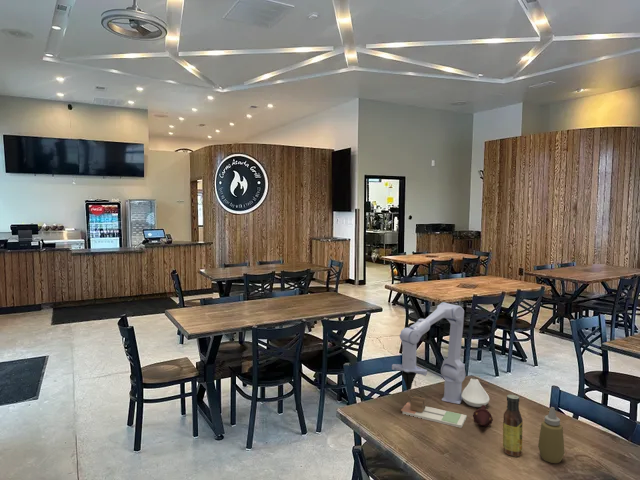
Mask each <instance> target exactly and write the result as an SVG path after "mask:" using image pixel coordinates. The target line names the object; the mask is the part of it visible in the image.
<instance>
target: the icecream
mask: <svg viewBox="0 0 640 480" xmlns="http://www.w3.org/2000/svg"><path fill="white" fill-rule="evenodd" d="M472 417H473V421H474V423H475V424H477V425H478V426H479V427H485V428H486V427H489V426H490V425H491V424H492V423H493V421H494V419H493V416H492V413H491V412H490V411H488V409H487V406H486V405H482V406H481V407H479V408H478V409H476V410H475V411H474V412H473V414H472Z"/></svg>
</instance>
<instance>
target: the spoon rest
mask: <svg viewBox="0 0 640 480" xmlns="http://www.w3.org/2000/svg"><path fill="white" fill-rule="evenodd" d="M461 397H462V401H463V402H464V403H466V405H468V406H470V407H473V408H481V406H482V405H485V406H486V405H488V403H490V396H489V394H488V393H487V391H486V389H485V388H484V387H483V386H482V385H481V382H480V381H479V379H477V378H476V379H475V378H470V380H469V382H468V384H466V386H465V387H464V388H463V389H462V394H461Z"/></svg>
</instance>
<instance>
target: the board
mask: <svg viewBox="0 0 640 480" xmlns="http://www.w3.org/2000/svg"><path fill="white" fill-rule="evenodd" d="M400 412H402V415H404V414H406V415H405V416H409V415H410V417H413V416H414V418H417V417H418V419H421V418H422V420H425V421H431V422H434V423H440V424H444V425H447V426H452V427H456V428H460V429H462V428H463V426H464V424H465V423H466V422H465V421H466V420H467V414H463V413H458V412H453V411H448V410H444V409H439V408H435V407H431V406H426V405H425V409H424V410H423V412H418V411H413V410H410V402H409V401H408V402H406V404H404V406H403V407H402V408H401V409H400Z"/></svg>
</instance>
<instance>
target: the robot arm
mask: <svg viewBox="0 0 640 480" xmlns="http://www.w3.org/2000/svg"><path fill="white" fill-rule="evenodd" d="M442 319H446V320H447V322H449V324H450V326H449V328H450V329H449V335H448V336H449V339H448V351H447V358H445V359H444V360H442V365H441V368H440V374H441V376H443V379H444V388H443V389H444V392H443V393H444V394H443V397H442V398H441V401H443V402H447V403H452V404H457V405H461V403H462V401H463V399H462V397H461V394H462V392H463V382H464V381H465V379H466V376H467V375H466V370H465V367H466V366H465V364H464V363H463V361H462V360H461V352H462V342H463V331H464V321H465V320H464V319H465V310H464V308H463V307H462V306H461V305H457V304H453V303H448V302H445V301H444V302H443V301H442V302H441V303H439V304H437V306H436V309H435V310H433V312H431V313H430V314H429V315H428V316H427V317H426V318H419V319H417V320H416V322H414V323H413V324H411V325H410V326H409V327H404V328H403V329H402V330H401V331H400V334H399V339H400V341H401V345H402V354H401V356H402V357H401V358H402V360H401V361H402V363H401V364H400V363H399V364H398V363H397V364H396V363H393V364H391V370H393V371H401V376H402V379H403V380H404V383H405V387H406V390H407V391H410V390H411V389H412V386H413V382H414V379H415V378H416V375H422V376H425V377H426V376H427V375H428V369H424V368H422V367H419V366H417V347H418V346H417V345H418V343H419V342H420V339H421V338H422V336H423V335H425V334H426V333H427V332H429V331H430V329H431V326H432V325H434V324H436V323H437V322H439V321H440V320H442Z"/></svg>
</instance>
